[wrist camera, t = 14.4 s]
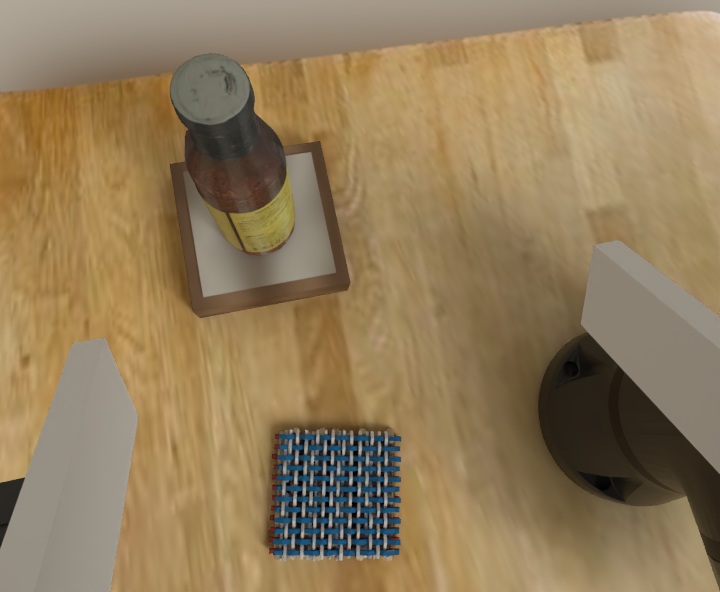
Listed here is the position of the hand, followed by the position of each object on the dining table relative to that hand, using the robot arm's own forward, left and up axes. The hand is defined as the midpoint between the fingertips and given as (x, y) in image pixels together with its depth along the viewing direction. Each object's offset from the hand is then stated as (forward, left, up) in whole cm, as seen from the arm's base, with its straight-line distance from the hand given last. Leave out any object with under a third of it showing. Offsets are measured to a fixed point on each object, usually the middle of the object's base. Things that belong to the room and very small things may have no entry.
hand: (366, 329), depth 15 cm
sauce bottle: (+3, -15, -31) cm, 34 cm away
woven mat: (+1, +8, -34) cm, 35 cm away
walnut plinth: (+3, -15, -34) cm, 37 cm away
